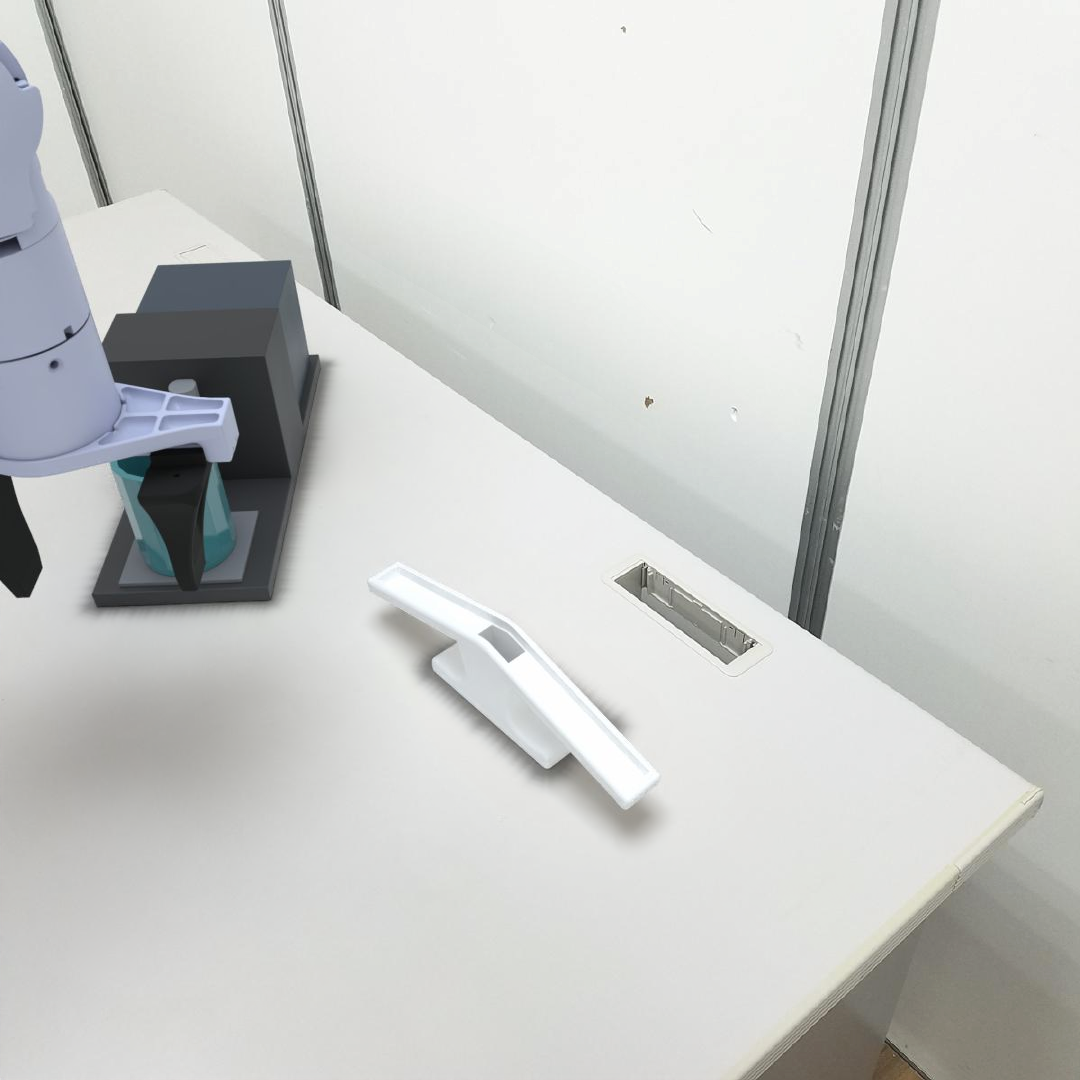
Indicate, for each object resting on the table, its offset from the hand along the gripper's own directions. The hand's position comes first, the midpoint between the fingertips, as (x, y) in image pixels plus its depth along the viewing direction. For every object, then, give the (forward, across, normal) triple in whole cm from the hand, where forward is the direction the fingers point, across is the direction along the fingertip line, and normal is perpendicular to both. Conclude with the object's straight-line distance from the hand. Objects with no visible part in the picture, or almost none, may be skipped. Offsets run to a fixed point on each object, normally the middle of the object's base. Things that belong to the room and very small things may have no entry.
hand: (111, 579), depth 53 cm
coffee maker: (+9, 0, -20) cm, 22 cm away
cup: (+8, +1, -12) cm, 14 cm away
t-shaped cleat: (+10, -18, 0) cm, 21 cm away
